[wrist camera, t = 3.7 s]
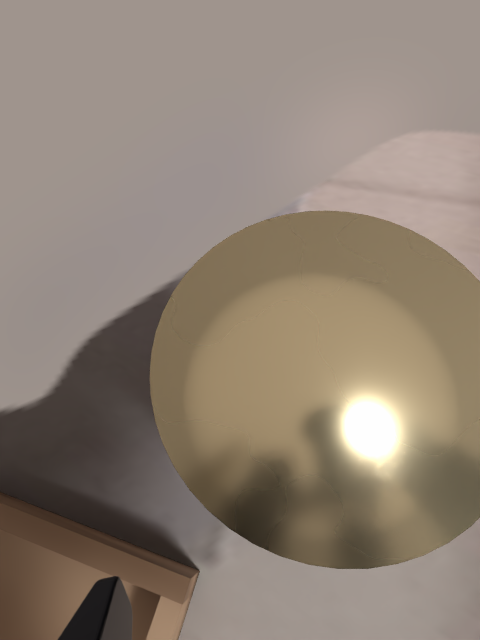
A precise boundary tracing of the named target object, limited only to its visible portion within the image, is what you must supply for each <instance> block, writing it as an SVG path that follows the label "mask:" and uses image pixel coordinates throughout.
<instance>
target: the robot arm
mask: <svg viewBox="0 0 480 640" xmlns="http://www.w3.org/2000/svg"><path fill="white" fill-rule="evenodd" d="M132 621H133V615H132V607H131V603H130V600H129V598H128V595H127V593H126V590H125V588H124V585H123V583H122V581H121V579H120V578H119V577H118V576H112V577H108V578H104V579H100V580H98V581H97V582H96V583H95V584H94V585H93V587H92V588H91V590H90V591H89V593H88V594H87V596H86V597H85V599H84V600H83V602H82V603H81V605H80V606H79V608H78V609H77V611H76V612H75V614H74V615H73V617H72V618H71V620H70V621H69V623H68V624H67V626H66V628H65V629H64V631H63V632H62V634H61V635H60V637H59V638H58V640H132Z"/></svg>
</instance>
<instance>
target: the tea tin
mask: <svg viewBox="0 0 480 640" xmlns="http://www.w3.org/2000/svg"><path fill="white" fill-rule="evenodd" d="M150 392H151V401H152V406H153V412H154V417H155V422H156V425H157V428H158V431H159V434H160V437H161V439H162V442H163V445H164V447H165V449H166V451H167V453H168V455H169V457H170V459H171V461H172V463H173V465H174V467H175V469H176V470H177V472H178V473H179V475H180V476H181V478H182V479H183V481H184V482H185V484H186V485H187V487H188V488H189V490H190V491H191V492H192V493H193V494H194V495H195V496H196V497H197V499H198V500H199V501H200V502H201V503H202V504H203V505H204V506H205V508H206V509H207V510H208V511H209V512H211V513H212V514H213V515H214V516H215V517H217V518H218V519H219V520H220V521H221V522H222V523H224V524H225V525H226V526H227V527H228V528H229V529H231V530H233V531H234V532H236V533H237V534H239V535H240V536H242V537H244V538H245V539H247V540H248V541H250V542H251V543H253V544H255V545H257V546H259V547H261V548H264V549H266V550H268V551H270V552H272V553H275V554H277V555H279V556H282V557H285V558H288V559H292V560H295V561H298V562H302V563H305V564H309V565H315V566H322V567H329V568H336V569H369V568H375V567H381V566H388V565H394V564H398V563H401V562H405V561H408V560H411V559H414V558H417V557H420V556H423V555H425V554H427V553H429V552H431V551H433V550H435V549H437V548H439V547H441V546H443V545H445V544H447V543H449V542H450V541H452V540H453V539H454V538H456V537H457V536H458V535H460V534H461V533H463V532H464V531H465V530H467V529H468V528H469V527H471V526H472V525H473V524H474V523H475V522H476V521H477V520H478V519H479V518H480V281H479V280H478V279H477V278H476V277H475V276H474V275H473V274H472V273H471V272H470V271H469V270H468V269H467V268H466V267H465V266H464V265H463V264H462V263H460V262H459V261H458V260H457V259H456V258H454V257H453V256H452V255H451V254H449V253H448V252H447V251H446V250H444V249H443V248H441V247H440V246H438V245H436V244H435V243H433V242H432V241H430V240H429V239H427V238H425V237H423V236H421V235H419V234H417V233H415V232H413V231H412V230H410V229H407V228H405V227H402V226H400V225H397V224H395V223H392V222H389V221H386V220H383V219H379V218H375V217H372V216H368V215H362V214H356V213H350V212H339V211H308V212H300V213H293V214H286V215H282V216H278V217H275V218H271V219H267V220H264V221H261V222H259V223H256V224H254V225H251V226H248V227H246V228H244V229H243V230H241V231H239V232H237V233H235V234H233V235H231V236H229V237H228V238H226V239H225V240H223V241H222V242H220V243H219V244H217V245H216V246H215V247H213V248H212V249H211V250H210V251H208V252H207V253H206V254H205V255H204V256H203V257H202V258H201V259H199V260H198V261H197V262H196V263H195V264H194V266H193V267H192V268H191V269H190V270H189V271H188V272H187V273H186V274H185V276H184V277H183V278H182V280H181V281H180V283H179V284H178V286H177V287H176V289H175V290H174V291H173V293H172V295H171V297H170V299H169V301H168V303H167V305H166V307H165V308H164V310H163V313H162V316H161V318H160V321H159V324H158V327H157V330H156V333H155V338H154V342H153V347H152V352H151V363H150Z"/></svg>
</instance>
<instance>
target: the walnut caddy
mask: <svg viewBox="0 0 480 640" xmlns="http://www.w3.org/2000/svg"><path fill="white" fill-rule="evenodd" d="M199 572H200V571H199V570H197V569H194V568H192V567H189V566H186V565H184V564H181V563H179V562H176V561H174V560H171V559H169V558H166V557H164V556H161V555H159V554H156V553H153V552H151V551H148V550H146V549H143V548H141V547H138V546H136V545H133V544H131V543H128V542H126V541H123V540H121V539H118V538H115V537H113V536H110V535H108V534H105V533H103V532H100V531H98V530H95V529H93V528H90V527H88V526H85V525H83V524H80V523H77V522H75V521H72V520H70V519H67V518H65V517H62V516H60V515H57V514H55V513H52V512H50V511H47V510H44V509H42V508H39V507H37V506H34V505H32V504H29V503H27V502H24V501H22V500H19V499H17V498H14V497H12V496H9V495H6V494H4V493H1V492H0V640H58V638H59V637H60V635H61V634H62V632H63V631H64V629H65V628H66V626H67V624H68V623H69V621H70V620H71V618H72V617H73V615H74V614H75V612H76V611H77V609H78V608H79V606H80V605H81V603H82V602H83V600H84V599H85V597H86V596H87V594H88V593H89V591H90V590H91V588H92V587H93V585H94V584H95V583H96V582H97V581H98V580H100V579H104V578H108V577H112V576H118V577H119V578H120V579H121V581H122V583H123V585H124V588H125V590H126V593H127V595H128V598H129V600H130V603H131V607H132V615H133V621H132V640H178V638H179V635H180V632H181V629H182V626H183V622H184V619H185V616H186V613H187V610H188V607H189V603H190V600H191V597H192V594H193V591H194V588H195V585H196V581H197V578H198V575H199Z"/></svg>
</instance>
